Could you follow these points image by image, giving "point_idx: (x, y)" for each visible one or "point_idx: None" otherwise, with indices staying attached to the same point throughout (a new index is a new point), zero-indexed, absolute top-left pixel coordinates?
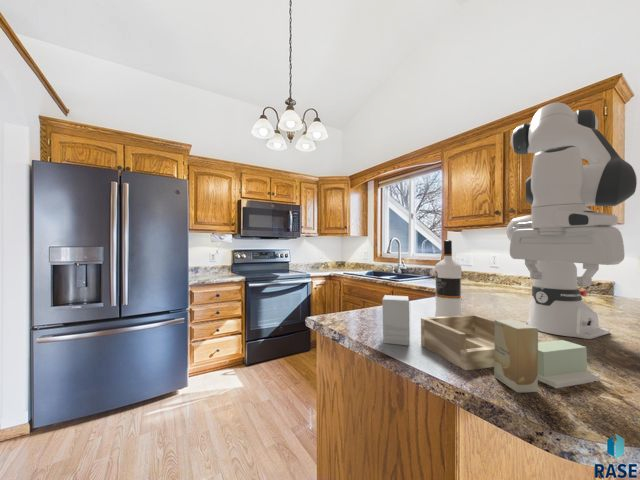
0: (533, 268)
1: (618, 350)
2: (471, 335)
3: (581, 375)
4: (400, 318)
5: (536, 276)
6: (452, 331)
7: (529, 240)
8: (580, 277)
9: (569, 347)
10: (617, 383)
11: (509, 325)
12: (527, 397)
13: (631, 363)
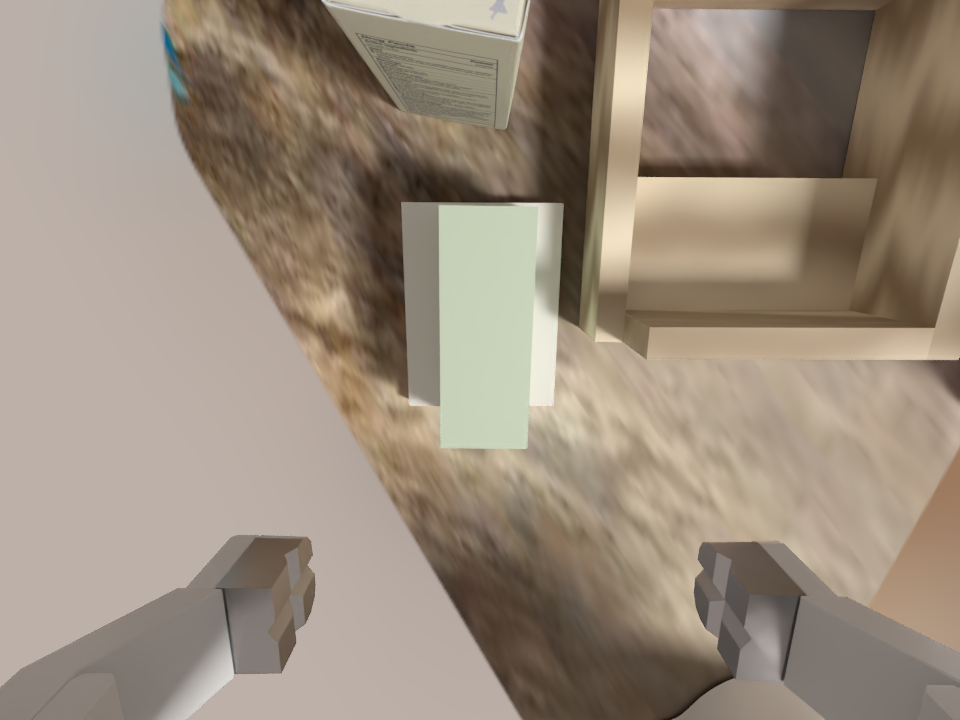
0: (850, 676)
1: (552, 707)
2: (830, 260)
3: (423, 352)
4: None
5: (723, 561)
6: None
7: None
8: (233, 581)
9: (453, 376)
10: (388, 432)
11: None
12: None
13: (473, 627)
